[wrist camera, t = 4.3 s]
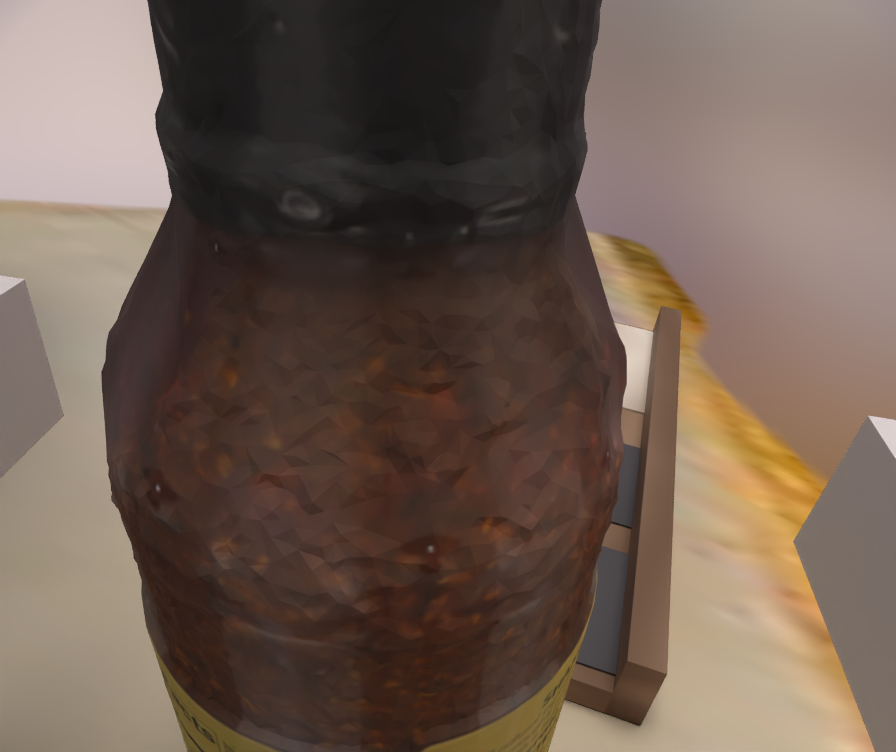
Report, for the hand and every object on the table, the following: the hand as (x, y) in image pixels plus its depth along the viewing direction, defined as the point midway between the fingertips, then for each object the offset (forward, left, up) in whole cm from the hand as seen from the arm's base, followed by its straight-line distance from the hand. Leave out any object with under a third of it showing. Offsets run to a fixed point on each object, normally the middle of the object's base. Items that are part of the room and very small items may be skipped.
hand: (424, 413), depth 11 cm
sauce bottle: (0, -2, -11) cm, 11 cm away
